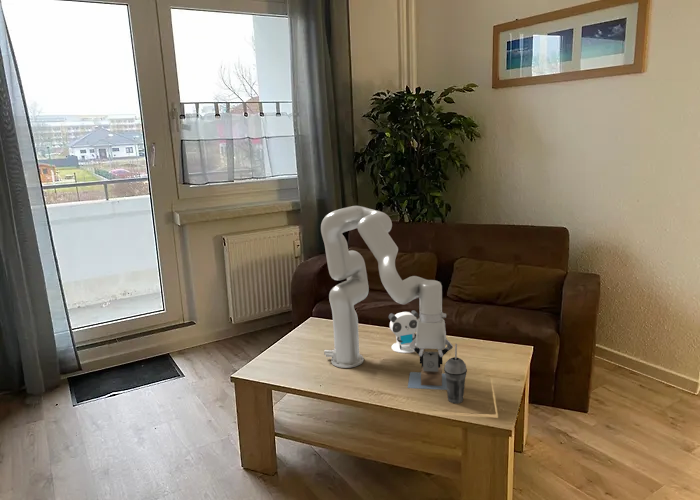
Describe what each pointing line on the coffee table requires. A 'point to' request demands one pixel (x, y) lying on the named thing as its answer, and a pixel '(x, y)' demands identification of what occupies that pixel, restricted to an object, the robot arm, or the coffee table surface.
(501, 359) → the coffee table surface
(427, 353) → the grey symbol cube
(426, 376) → the light brown plinth
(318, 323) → the coffee table surface
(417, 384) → the blue board
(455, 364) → the beverage cup
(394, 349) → the panda figurine
